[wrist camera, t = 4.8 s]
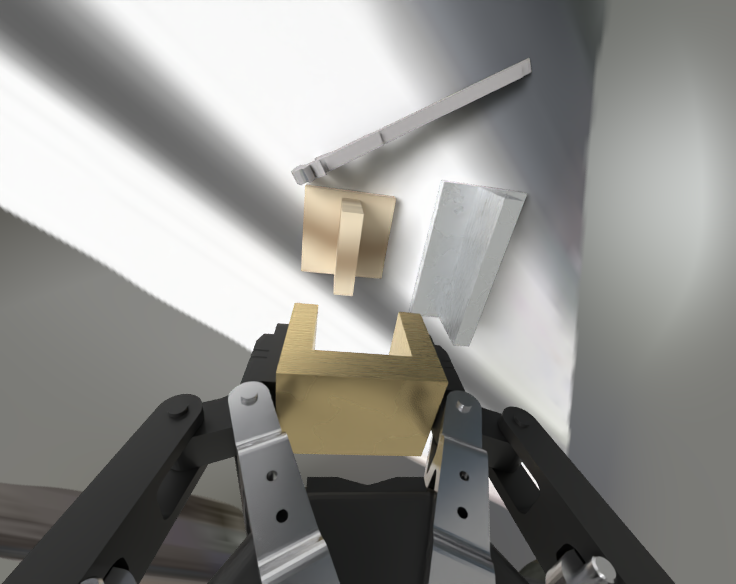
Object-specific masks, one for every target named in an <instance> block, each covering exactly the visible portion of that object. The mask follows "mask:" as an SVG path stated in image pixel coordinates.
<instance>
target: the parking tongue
mask: <svg viewBox="0 0 736 584" xmlns="http://www.w3.org/2000/svg"><path fill="white" fill-rule="evenodd" d="M395 202H396V198H395V197H394V196H387V195H380V194H372V193H365V192H358V191H350V190H343V189H335V188H328V187H321V186H313V185H306V186H305V200H304V222H303V244H302V266H301V271H306V272H316V273H327V274H334V294H336V295H347V296H353V288H354V281H355V276H358V277H368V278H379V279H381V277H382V272H383V267H384V261H385V256H386V250H387V245H388V240H389V234H390V229H391V223H392V218H393V213H394V207H395Z"/></svg>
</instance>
